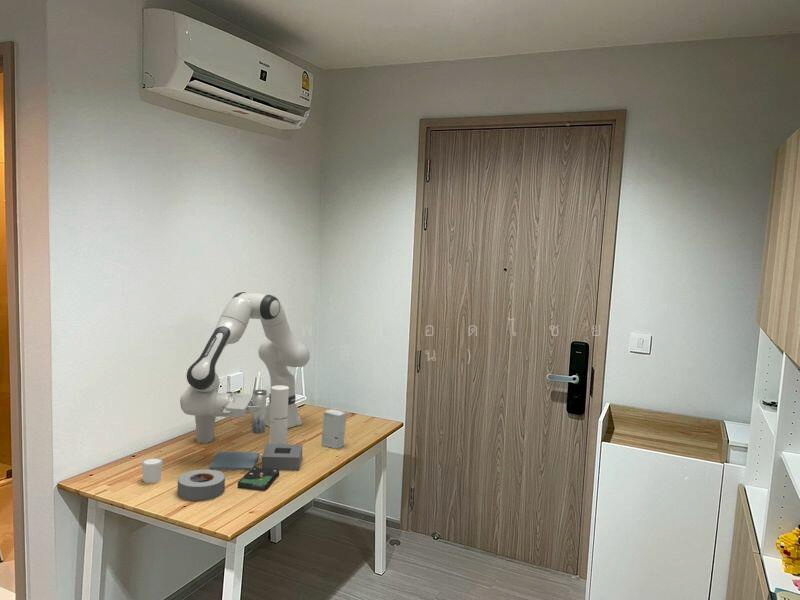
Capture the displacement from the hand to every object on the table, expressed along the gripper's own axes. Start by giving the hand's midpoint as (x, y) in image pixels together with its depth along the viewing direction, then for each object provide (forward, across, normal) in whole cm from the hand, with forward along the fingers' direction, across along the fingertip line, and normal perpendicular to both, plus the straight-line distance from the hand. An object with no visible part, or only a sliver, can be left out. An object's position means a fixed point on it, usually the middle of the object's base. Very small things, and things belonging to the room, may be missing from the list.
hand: (261, 406), depth 229 cm
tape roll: (-16, -26, +23) cm, 38 cm away
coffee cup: (-26, +24, +22) cm, 42 cm away
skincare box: (+28, +21, +22) cm, 41 cm away
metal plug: (-1, 0, +10) cm, 10 cm away
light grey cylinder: (-34, -18, +23) cm, 45 cm away
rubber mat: (-9, 0, +22) cm, 24 cm away
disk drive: (+2, -17, +23) cm, 29 cm away
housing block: (+9, 0, +22) cm, 24 cm away
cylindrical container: (+5, +19, +22) cm, 30 cm away
